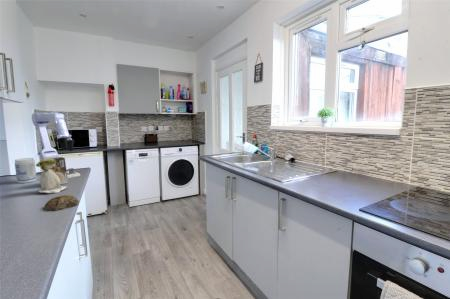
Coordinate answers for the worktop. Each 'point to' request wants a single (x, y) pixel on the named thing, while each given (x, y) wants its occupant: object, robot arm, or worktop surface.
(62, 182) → the coffee box
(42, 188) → the off-white lumpy piece
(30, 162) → the supplement tub
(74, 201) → the bread roll
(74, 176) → the panel
